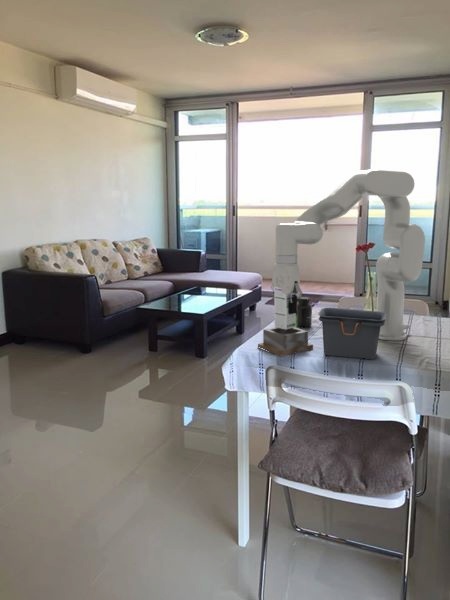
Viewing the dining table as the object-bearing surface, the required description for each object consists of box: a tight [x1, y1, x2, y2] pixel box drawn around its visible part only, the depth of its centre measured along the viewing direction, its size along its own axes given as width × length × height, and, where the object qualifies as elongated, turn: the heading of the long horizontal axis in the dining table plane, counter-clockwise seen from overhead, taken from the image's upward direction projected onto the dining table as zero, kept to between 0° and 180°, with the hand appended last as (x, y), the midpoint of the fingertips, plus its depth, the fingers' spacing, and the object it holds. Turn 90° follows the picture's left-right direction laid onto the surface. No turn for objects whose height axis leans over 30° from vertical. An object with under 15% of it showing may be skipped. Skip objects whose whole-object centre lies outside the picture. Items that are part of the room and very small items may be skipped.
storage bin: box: [317, 307, 386, 360], centre depth 165 cm, size 21×16×14 cm
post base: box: [257, 326, 314, 357], centre depth 174 cm, size 15×12×6 cm
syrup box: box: [273, 287, 298, 330], centre depth 172 cm, size 6×6×14 cm
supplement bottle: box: [296, 296, 313, 329], centre depth 203 cm, size 7×7×12 cm
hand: (286, 311), depth 172 cm, fingers closed on syrup box, 6 cm apart
